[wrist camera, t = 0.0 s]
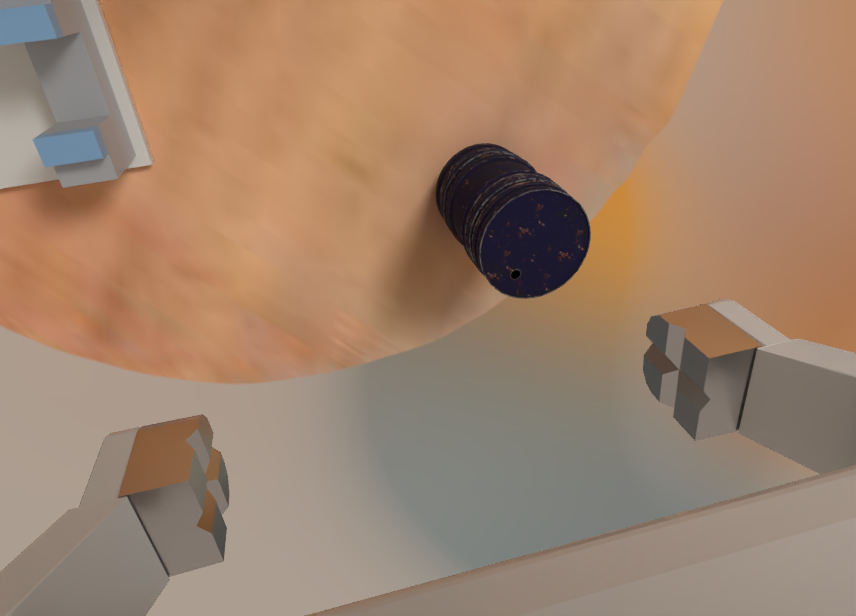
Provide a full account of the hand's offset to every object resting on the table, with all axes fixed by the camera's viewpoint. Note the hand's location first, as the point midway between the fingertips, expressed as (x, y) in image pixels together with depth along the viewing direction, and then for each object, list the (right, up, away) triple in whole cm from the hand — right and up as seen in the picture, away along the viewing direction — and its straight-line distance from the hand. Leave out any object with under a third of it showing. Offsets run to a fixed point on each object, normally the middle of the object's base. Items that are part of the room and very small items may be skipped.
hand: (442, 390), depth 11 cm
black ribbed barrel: (+5, +14, +50) cm, 52 cm away
